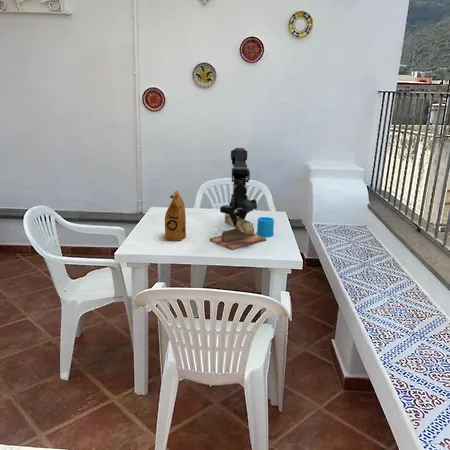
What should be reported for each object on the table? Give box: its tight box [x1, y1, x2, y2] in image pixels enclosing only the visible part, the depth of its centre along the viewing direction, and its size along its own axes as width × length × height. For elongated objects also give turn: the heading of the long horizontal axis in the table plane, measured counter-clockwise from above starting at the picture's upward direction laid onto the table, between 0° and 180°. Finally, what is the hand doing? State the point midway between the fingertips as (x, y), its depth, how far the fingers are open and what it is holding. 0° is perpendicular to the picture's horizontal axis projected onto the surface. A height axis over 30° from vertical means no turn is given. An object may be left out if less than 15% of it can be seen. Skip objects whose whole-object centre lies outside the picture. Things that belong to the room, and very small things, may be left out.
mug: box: [256, 216, 275, 238], centre depth 222 cm, size 12×8×8 cm
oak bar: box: [224, 213, 254, 234], centre depth 209 cm, size 20×4×4 cm, turn 30°
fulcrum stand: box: [209, 227, 267, 251], centre depth 211 cm, size 16×22×6 cm
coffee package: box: [164, 190, 187, 242], centre depth 211 cm, size 10×12×22 cm
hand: (238, 225), depth 209 cm, fingers closed on oak bar, 4 cm apart
